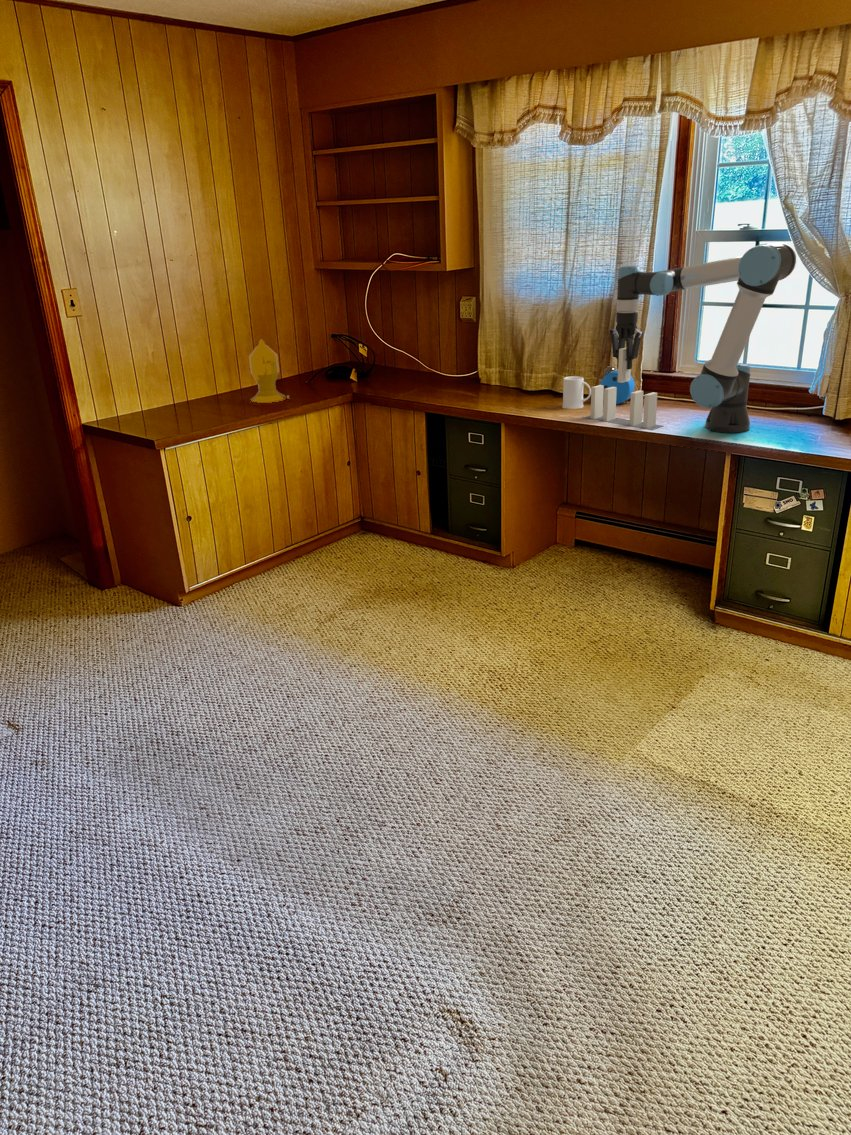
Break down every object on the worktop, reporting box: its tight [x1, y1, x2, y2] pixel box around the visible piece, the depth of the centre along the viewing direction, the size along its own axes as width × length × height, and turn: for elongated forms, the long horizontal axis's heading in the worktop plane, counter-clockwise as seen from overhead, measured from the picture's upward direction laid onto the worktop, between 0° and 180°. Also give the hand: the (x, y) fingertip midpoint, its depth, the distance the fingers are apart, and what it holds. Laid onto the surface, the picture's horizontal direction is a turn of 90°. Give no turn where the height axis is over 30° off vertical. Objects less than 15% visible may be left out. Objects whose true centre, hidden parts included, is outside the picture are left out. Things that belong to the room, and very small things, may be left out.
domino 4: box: [629, 389, 644, 426], centre depth 309 cm, size 2×5×12 cm, turn 131°
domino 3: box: [617, 347, 632, 383], centre depth 308 cm, size 2×5×12 cm, turn 132°
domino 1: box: [590, 384, 604, 419], centre depth 322 cm, size 2×5×12 cm, turn 132°
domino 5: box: [642, 391, 658, 428], centre depth 305 cm, size 2×5×12 cm, turn 132°
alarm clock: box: [599, 365, 636, 405], centre depth 344 cm, size 13×6×15 cm, turn 55°
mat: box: [582, 414, 665, 431], centre depth 316 cm, size 32×8×1 cm, turn 41°
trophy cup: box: [248, 338, 290, 403], centre depth 378 cm, size 18×24×28 cm
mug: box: [562, 375, 591, 410], centre depth 341 cm, size 12×8×12 cm
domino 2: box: [603, 387, 617, 421], centre depth 318 cm, size 2×5×12 cm, turn 131°
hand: (624, 377), depth 310 cm, fingers closed on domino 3, 2 cm apart
